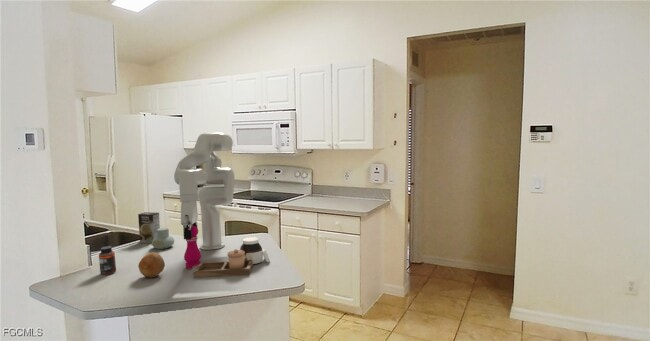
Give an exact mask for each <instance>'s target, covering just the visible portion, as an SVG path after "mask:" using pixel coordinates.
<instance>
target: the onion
mask: <svg viewBox="0 0 650 341" xmlns="http://www.w3.org/2000/svg"><path fill="white" fill-rule="evenodd" d="M165 264H166V263H165V261H164V259H163V257H162V255H161V254H159V253H157V252H154V251H152V252H149V253H147V254H145V255H144V256H143V257H142V258H141V259H140V261H139V263H138V265H137V266H138V270H139V272H140V274H141V275H142V276H144V277H147V278H154V277H157V276H158V275H160V274H162V273H163V271H164V269H165V266H166V265H165Z"/></svg>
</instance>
